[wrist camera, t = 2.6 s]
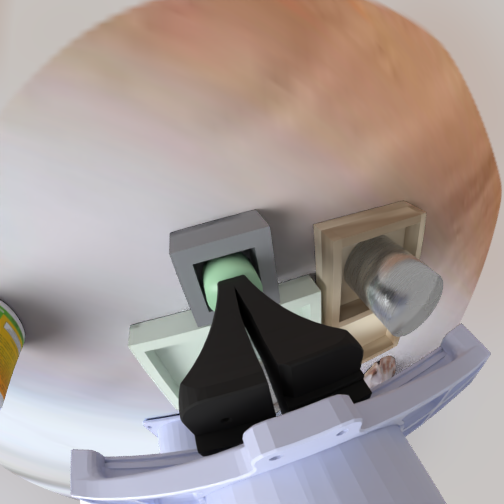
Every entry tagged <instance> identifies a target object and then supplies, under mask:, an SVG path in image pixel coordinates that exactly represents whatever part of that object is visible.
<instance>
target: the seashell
mask: <svg viewBox="0 0 504 504" xmlns="http://www.w3.org/2000/svg"><path fill="white" fill-rule="evenodd" d="M395 370H396V363H395V359H394V358H393V357H392V356H386V357H383V358H381V359H380V365H379V363H378V362H375V363H374V364H373V365H372V367H371V368H370V369H369V370H368V371H367V372H366V373H365V374H364V381H365V382H366V384H367V385H368V387H369V388H370V389H371V388H373V387H375V386H377V385H379V384H380V383H382V382H384V381H386V380H388V379H389V378H391V377H393V376H394V374H395Z"/></svg>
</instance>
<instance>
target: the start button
mask: <svg viewBox="0 0 504 504" xmlns="http://www.w3.org/2000/svg"><path fill="white" fill-rule="evenodd" d="M240 275H245V276H246V277H247V278H248V279H249V280H250V281H251V282H252V283H253V284H254V285H255V286H256V287H257V288H258V289H259V290H261V291H262V292H263V286H262V283H261V281H260V279H259V277H258V275H257V273H256V271H255V269H254V267H253V265H252V264H251V262H250V260H249V258H248V257H247V256H246V255H244V254H243V253H241V252H235V253H232V254H228V255H225V256H221V257H218V258H214V259H211V260H207V262H206V263H205V265H204V267H203V270H202V279H203V284H204V289H205V293H206V298H207V302H208V305H209V306H210V308H211V309H212V310H213V311H214V312H215V307H216V301H217V283H218V282H219V281H222V280H226V279H229V278H233V277H236V276H240Z"/></svg>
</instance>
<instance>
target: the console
mask: <svg viewBox="0 0 504 504" xmlns="http://www.w3.org/2000/svg"><path fill="white" fill-rule="evenodd" d="M235 252H241V253H243V254H244V255H246V256H247V257H248V258H249V260H250V262H251V264H252V265H253V267H254V269H255V271H256V273H257V275H258V277H259V279H260V281H261V283H262V286H263V293H264V294H265V295H267V296H268V297H269V298H271V299H272V300H273V301H275V302H276V303H278V304H279V303H281V302H280V295H279V287H278V280H277V273H276V266H275V259H274V252H273V245H272V238H271V231H270V226H269V225H268V224H267V222H266V221H265V220H264V219H263V218H262V216H261V215H260V214H259V213H258V212H257V210H252V211H248V212H244V213H240V214H237V215H233V216H229V217H225V218H221V219H218V220H214V221H210V222H207V223H203V224H200V225H196V226H192V227H189V228H185V229H182V230H178V231H175V232H171V233H170V249H169V254H170V257H171V260H172V263H173V265H174V268H175V271H176V273H177V276H178V279H179V281H180V284H181V287H182V289H183V292H184V294H185V297H186V299H187V302H188V304H189V307H190V309H191V312H192V314H193V316H194V319H195V321H196V324H197V326H198V327H202V326H205V325H209V324H212V321H213V317H214V313H215V312H214V311H213V310H212V309H211V308H210V306H209V305H208V302H207V298H206V293H205V289H204V284H203V279H202V270H203V267H204V265H205V263H206V262H207V260H211V259H214V258H218V257H221V256H225V255H228V254H232V253H235Z"/></svg>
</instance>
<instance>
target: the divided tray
mask: <svg viewBox="0 0 504 504" xmlns="http://www.w3.org/2000/svg"><path fill="white" fill-rule="evenodd" d="M426 214H427V213H426V212H425V211H423V210H421V209H419V208H417V207H415V206H413V205H411V204H409V203H408V202H406V201H400V202H397V203H393V204H389V205H385V206H381V207H377V208H373V209H370V210H366V211H362V212H358V213H354V214H351V215H347V216H343V217H339V218H336V219H332V220H328V221H324V222H321V223H317V224H313V225H314V242H315V262H316V285H317V286H318V288H319V289H320V290H321V324H324V325H327V326H331V327H336V328H341V329H346V330H347V331H348V332H349V333H350V334H351V335H352V336H353V337H354V338H355V339H356V340H357V341H358V342H359V344H360V345H361V346H362V348H363V350H364V353H363V359H362V363H364V362H367V361H369V360H371V359H373V358H375V357H376V356H378V355H380V354H382V353H384V352H386V351H388V350H390V349H392V348H393V347H395V346H397V344H398V341H399V338H400V337H396V336H393V335H392V334H391V333H390V332H389V330H388V329H387V328H386V327H385V326H384V325H383V324H382V322H381V321H380V320H379V319H378V318H377V317H376V316H375V314H374V313H373V312H372V311H371V310H370V309H369V308H368V307H367V306H366V304H365V303H364V302H363V301H362V300H361V299H360V298H359V297H358V296H357V295H356V293H355V292H354V291H353V290H352V289H351V288H350V287H349V286H348V285H347V283H346V282H345V279H344V267H345V263H346V260H347V258H348V256H349V254H350V253H351V251H352V250H353V249H354V247H355V246H356V245H357V244H358V243H359V242H362V241H365V240H368V239H371V238H374V237H377V236H380V235H385V236H387V237H388V238H390V239H391V240H393V241H394V242H396V243H397V244H398V245H400V246H401V247H402V248H404V249H405V250H407V251H408V252H409V253H411V254H412V255H413V256H415V257H416V258H417V259H419V260H420V255H421V249H422V243H423V236H424V230H425V222H426ZM362 363H361V364H362Z"/></svg>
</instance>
